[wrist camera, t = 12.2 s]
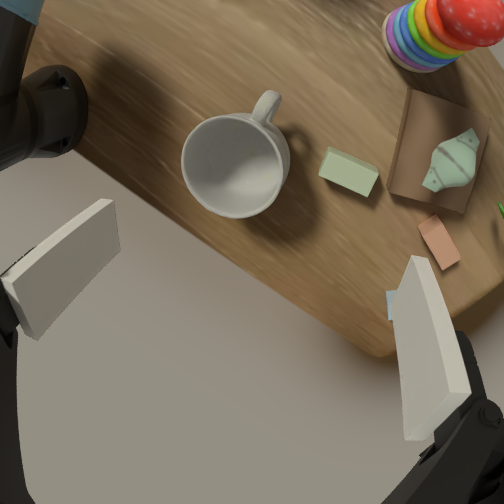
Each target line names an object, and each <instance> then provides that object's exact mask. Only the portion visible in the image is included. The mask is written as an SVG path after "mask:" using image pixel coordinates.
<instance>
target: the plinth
mask: <svg viewBox="0 0 504 504" xmlns="http://www.w3.org/2000/svg"><path fill="white" fill-rule="evenodd" d="M490 122H491V118H488V117H486V116H484V115H482V114H479V113H477V112H475V111H472V110H470V109H467V108H465V107H462V106H460V105H457V104H455V103H452V102H449V101H447V100H444V99H441V98H438V97H436V96H433V95H430V94H427V93H424V92H421V91H418V90H414V89H409V88H408V89H407V95H406V100H405V106H404V111H403V116H402V121H401V126H400V130H399V135H398V139H397V144H396V148H395V152H394V157H393V161H392V165H391V169H390V173H389V177H388V181H387V184H386V186H387V188H388V191H389V193H393V194H397V195H401V196H404V197H408V198H412V199H415V200H419V201H422V202H426V203H429V204H433V205H436V206H440V207H443V208H446V209H449V210H453V211H456V212H459V213H462V214H464V211H465V209H466V206H467V203H468V200H469V197H470V194H471V191H472V188H473V185H474V182H475V179H476V175H477V172H478V169H479V165H480V162H481V158H482V155H483V151H484V147H485V143H486V139H487V135H488V131H489V127H490ZM470 128H473V130H474V132H475V134H476V136H477V138H478V140H479V142H480V143H479V145H478V148H477V151H476V166H475V175H474V177H473V178H472V180H471V181H470V182H469V183H468V184H466V185H465V186H462V187H448V188H443V189H441V190H439V191H437V192H434V191H432V190H430V189H428V188H427V187H425V186H423V185H422V183H423V181H424V179H425V177H426V175H427V173H428V171H429V168H430V165H431V158H432V153H433V151H434V150H435V149H436V147H437V146H438V145H439V144H440V143H442V142H444V141H447V140H450V139H453V138H455V137H457V136H459V135H460V134H462V133H464V132H465V131H467V130H469V129H470Z"/></svg>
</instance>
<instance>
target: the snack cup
mask: <svg viewBox="0 0 504 504" xmlns="http://www.w3.org/2000/svg"><path fill="white" fill-rule="evenodd" d="M498 206H499V209H500V212H501V214H502V216H503V219H504V207H503V206H502V205H501V203H500V202H498Z"/></svg>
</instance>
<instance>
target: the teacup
mask: <svg viewBox="0 0 504 504" xmlns="http://www.w3.org/2000/svg"><path fill="white" fill-rule="evenodd" d="M280 102H281V95H280V94H279V93H277V92H275V91H273V90H268V91H266V92H265V93H264V94H263V95H262V96H261V98H260V99H259V100H258V102H257V104H256V105H255V108H254V110H253V112H252V114H250V113H234V114H228V115H220V116H215V117H212V118H209V119H207V120H205V121H204V122H202V123H200V124H199V125H198V126H197V127H196V128H195V129H194V130H193V131H192V132H191V133H190V135H189V136H188V138H187V139H186V141H185V144H184V146H183V150H182V156H181V167H182V174H183V177H184V180H185V183H186V185H187V187H188V188H189V190H190V192H191V193H192V195H193V196H194V197H195V198H196V199H197V201H198V202H199V203H201V204H202V205H203V206H204V207H205V208H206V209H208V210H210V211H212V212H213V213H215V214H218V215H220V216H224V217H227V218H246V217H251V216H254V215H256V214H259V213H261V212H262V211H264V210H265V209H267V208H268V207H269V206H270V205H271V204H272V203H273V202H274V200H275V199H276V198H277V196H278V194H279V192H280V190H281V187H282V186H283V184H284V182H285V180H286V178H287V175H288V172H289V168H290V151H289V147H288V144H287V141H286V139H285V137H284V136H283V134H282V133H281V131H280V130H279V129H278V128H277V127H276V126H275V125H274V124H273V123H272V120H273V117H274V115H275V113H276V111H277V109H278V107H279V105H280Z"/></svg>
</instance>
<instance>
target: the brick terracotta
mask: <svg viewBox="0 0 504 504" xmlns="http://www.w3.org/2000/svg"><path fill="white" fill-rule="evenodd" d="M418 228H419V230H420V232H421V235H422V237H423V238H424V240H425V241H426V243H427V245H428V246H429V248H430V250H431V251H432V253H433V255H434V256H435V258H436V260H437V262H438V263H439V265H440V267H441V269H442V270H444V269H446V268H447V267H449V266H450V265H452V264H454V263H455V262H457V261H458V260H460V259H461V257H460V255H459V253H458V251H457V249H456V247H455V245H454V243H453V242H452V240H451V238H450V236H449V234H448V232H447V231H446V229H445V227H444V225H443V224H442V222H441V220H440V219H439V217H438V215H437V214H434V215H433V216H432V217H430V218H429V219H427V220H426V221H424V222H423V223H421V224H420V225H418Z"/></svg>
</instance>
